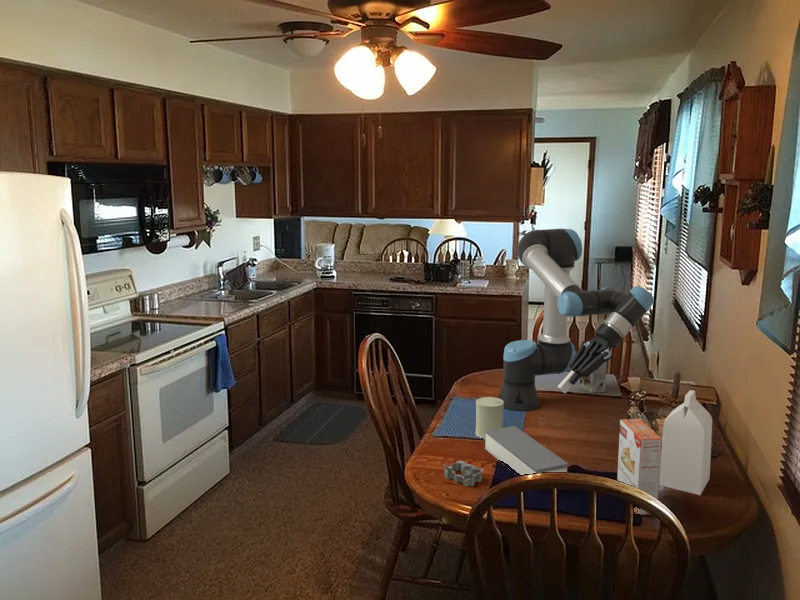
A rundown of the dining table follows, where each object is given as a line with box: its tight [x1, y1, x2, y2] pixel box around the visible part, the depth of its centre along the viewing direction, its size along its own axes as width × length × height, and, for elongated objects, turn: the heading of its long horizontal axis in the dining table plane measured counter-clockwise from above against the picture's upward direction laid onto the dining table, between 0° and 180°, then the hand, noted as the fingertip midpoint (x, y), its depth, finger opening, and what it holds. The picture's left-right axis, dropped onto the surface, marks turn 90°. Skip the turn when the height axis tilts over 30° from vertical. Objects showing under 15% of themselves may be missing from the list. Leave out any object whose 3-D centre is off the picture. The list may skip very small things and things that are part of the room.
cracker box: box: [616, 418, 662, 516], centre depth 180 cm, size 14×6×21 cm, turn 3°
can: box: [475, 396, 504, 440], centre depth 227 cm, size 9×9×12 cm
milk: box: [659, 389, 713, 496], centre depth 192 cm, size 12×12×26 cm
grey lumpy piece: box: [442, 460, 485, 487], centre depth 197 cm, size 11×8×4 cm
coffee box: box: [579, 361, 608, 394], centre depth 272 cm, size 9×6×16 cm
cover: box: [486, 425, 569, 473], centre depth 204 cm, size 10×30×1 cm, turn 20°
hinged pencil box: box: [484, 434, 568, 475], centre depth 204 cm, size 10×30×5 cm, turn 20°
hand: (561, 390), depth 205 cm, fingers closed
